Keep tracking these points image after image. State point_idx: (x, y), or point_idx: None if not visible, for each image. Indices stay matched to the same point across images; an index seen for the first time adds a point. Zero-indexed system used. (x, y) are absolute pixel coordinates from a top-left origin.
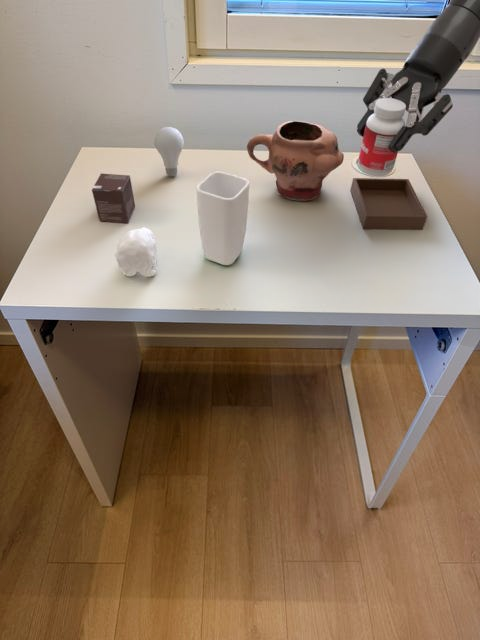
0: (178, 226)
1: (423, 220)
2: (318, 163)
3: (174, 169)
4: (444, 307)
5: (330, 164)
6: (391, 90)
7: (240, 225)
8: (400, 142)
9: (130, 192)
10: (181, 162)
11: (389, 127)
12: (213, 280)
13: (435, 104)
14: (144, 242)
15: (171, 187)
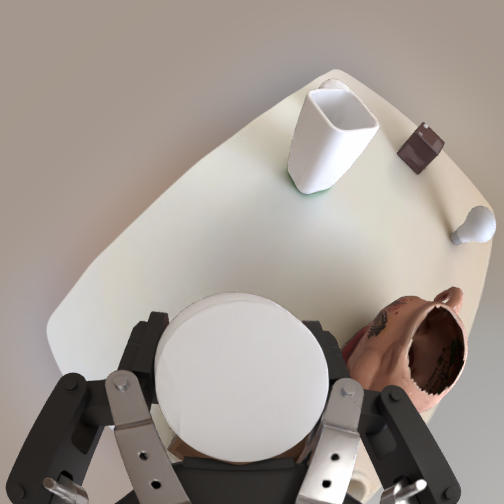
0: (376, 180)
1: (171, 444)
2: (368, 357)
3: (456, 235)
4: (64, 309)
5: (354, 379)
6: (329, 472)
7: (301, 146)
8: (135, 334)
9: (423, 156)
10: (468, 267)
11: (180, 319)
12: (278, 146)
13: (47, 467)
14: (328, 87)
15: (437, 224)
